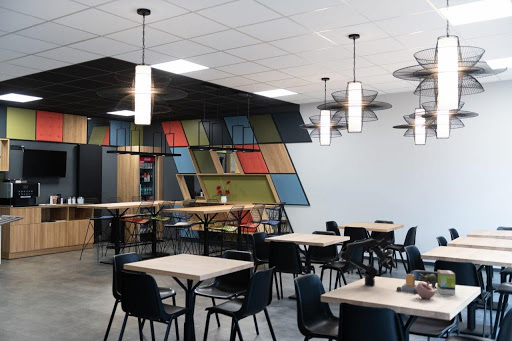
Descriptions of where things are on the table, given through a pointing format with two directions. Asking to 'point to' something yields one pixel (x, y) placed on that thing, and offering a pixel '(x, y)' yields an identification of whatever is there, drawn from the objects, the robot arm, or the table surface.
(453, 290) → the tea box
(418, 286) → the mortar and pestle
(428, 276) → the dinosaur figurine
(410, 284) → the orange block gray top
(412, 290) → the chassis
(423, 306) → the table surface
